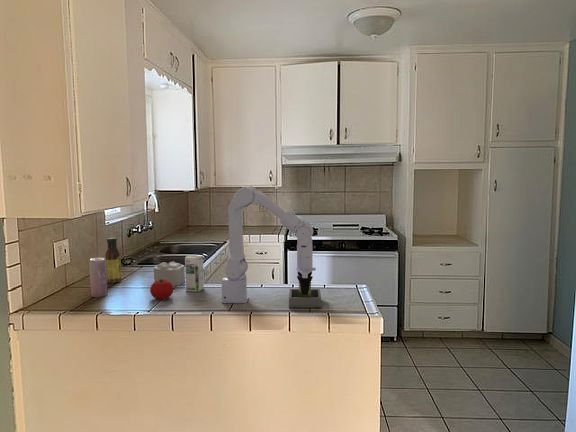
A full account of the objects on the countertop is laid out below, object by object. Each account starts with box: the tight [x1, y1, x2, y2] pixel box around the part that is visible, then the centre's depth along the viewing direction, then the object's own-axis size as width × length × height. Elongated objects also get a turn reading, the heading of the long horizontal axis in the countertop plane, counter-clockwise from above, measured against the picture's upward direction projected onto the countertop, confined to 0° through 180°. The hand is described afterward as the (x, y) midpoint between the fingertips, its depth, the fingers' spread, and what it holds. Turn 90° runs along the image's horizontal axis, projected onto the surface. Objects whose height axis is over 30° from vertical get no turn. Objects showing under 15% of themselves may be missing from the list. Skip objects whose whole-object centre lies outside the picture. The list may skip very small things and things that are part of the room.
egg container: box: [153, 261, 186, 287], centre depth 194 cm, size 10×13×9 cm
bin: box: [288, 288, 322, 310], centre depth 162 cm, size 12×12×4 cm
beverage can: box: [88, 257, 108, 298], centre depth 174 cm, size 6×6×15 cm
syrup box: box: [184, 254, 205, 293], centre depth 181 cm, size 6×6×14 cm
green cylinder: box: [298, 281, 312, 297], centre depth 162 cm, size 5×5×6 cm
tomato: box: [149, 279, 174, 301], centre depth 170 cm, size 9×9×8 cm
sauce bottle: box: [105, 237, 123, 284], centre depth 195 cm, size 7×6×20 cm
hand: (304, 292), depth 162 cm, fingers open, 5 cm apart
